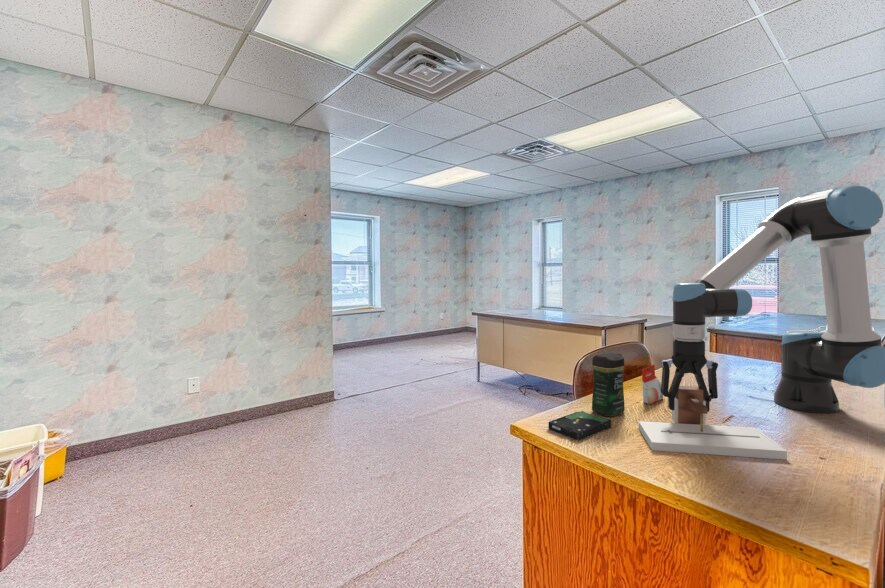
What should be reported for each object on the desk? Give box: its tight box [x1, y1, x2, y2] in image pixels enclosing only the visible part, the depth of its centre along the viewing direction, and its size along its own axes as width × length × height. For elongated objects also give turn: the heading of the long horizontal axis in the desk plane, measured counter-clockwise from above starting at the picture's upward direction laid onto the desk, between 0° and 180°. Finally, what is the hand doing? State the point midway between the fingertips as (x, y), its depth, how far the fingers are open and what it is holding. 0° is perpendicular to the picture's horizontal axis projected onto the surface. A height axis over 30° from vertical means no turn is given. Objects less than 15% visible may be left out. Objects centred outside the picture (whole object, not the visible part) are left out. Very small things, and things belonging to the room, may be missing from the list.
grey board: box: [638, 420, 788, 461], centre depth 101 cm, size 28×14×2 cm, turn 76°
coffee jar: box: [591, 351, 626, 417], centre depth 124 cm, size 10×8×19 cm
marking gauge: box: [673, 385, 708, 432], centre depth 107 cm, size 6×14×11 cm, turn 166°
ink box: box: [641, 364, 664, 405], centre depth 134 cm, size 3×9×12 cm, turn 128°
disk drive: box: [548, 410, 612, 442], centre depth 113 cm, size 10×3×15 cm
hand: (688, 421), depth 111 cm, fingers closed on marking gauge, 6 cm apart
